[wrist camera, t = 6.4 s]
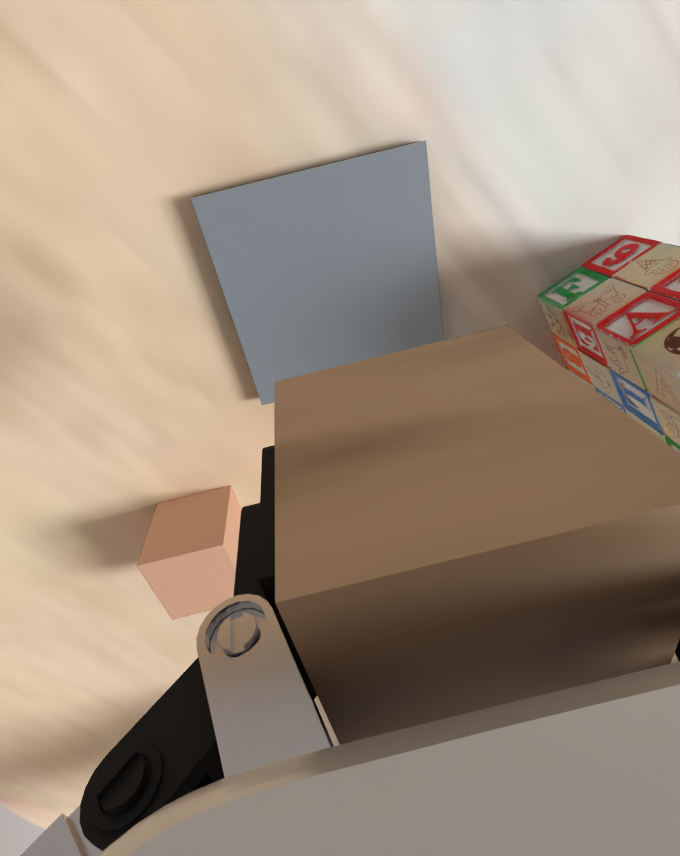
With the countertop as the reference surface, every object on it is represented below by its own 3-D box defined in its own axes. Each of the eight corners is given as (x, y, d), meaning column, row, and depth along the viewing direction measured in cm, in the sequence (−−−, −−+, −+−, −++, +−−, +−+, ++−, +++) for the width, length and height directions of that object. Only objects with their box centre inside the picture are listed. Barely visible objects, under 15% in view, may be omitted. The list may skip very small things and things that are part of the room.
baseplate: (440, 354, 29) (445, 359, 29) (262, 397, 29) (262, 405, 29) (420, 141, 23) (425, 140, 22) (193, 196, 23) (190, 198, 22)
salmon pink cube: (253, 537, 36) (250, 600, 31) (186, 553, 36) (172, 619, 31) (231, 484, 33) (223, 544, 28) (157, 502, 33) (136, 566, 28)
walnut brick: (507, 500, 13) (652, 716, 8) (326, 545, 13) (359, 787, 8) (507, 324, 10) (731, 491, 5) (274, 381, 10) (275, 602, 5)
